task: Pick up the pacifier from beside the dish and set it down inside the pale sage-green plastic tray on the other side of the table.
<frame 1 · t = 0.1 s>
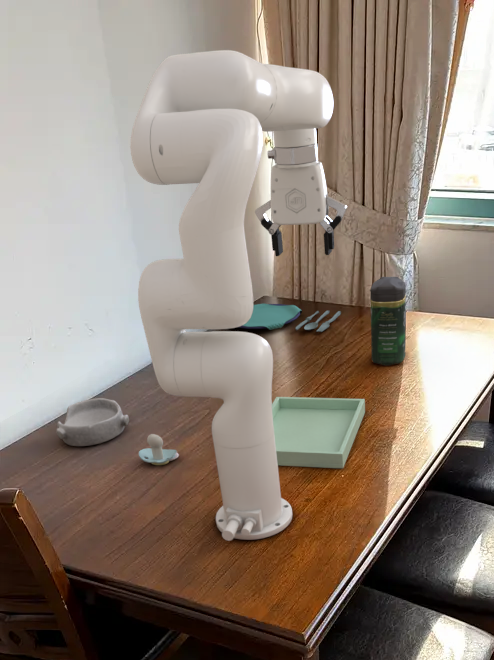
hand: (303, 253, 147), 31 cm above the table, tool pointing down, fingers open, 9 cm apart
coffee jar: (389, 359, 182), on the table
dish: (95, 434, 161), on the table
cutlery set: (281, 323, 210), on the table
pacifier: (161, 461, 148), on the table
tray: (307, 436, 151), on the table
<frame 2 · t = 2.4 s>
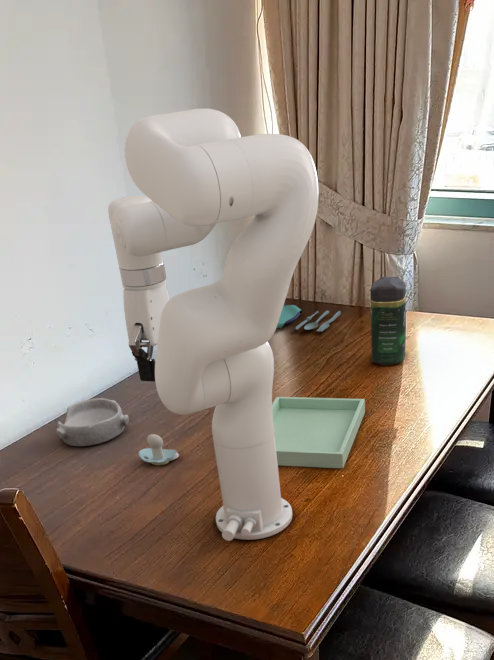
hand: (160, 369, 140), 17 cm above the table, tool pointing down, fingers open, 9 cm apart
nothing on the table moved.
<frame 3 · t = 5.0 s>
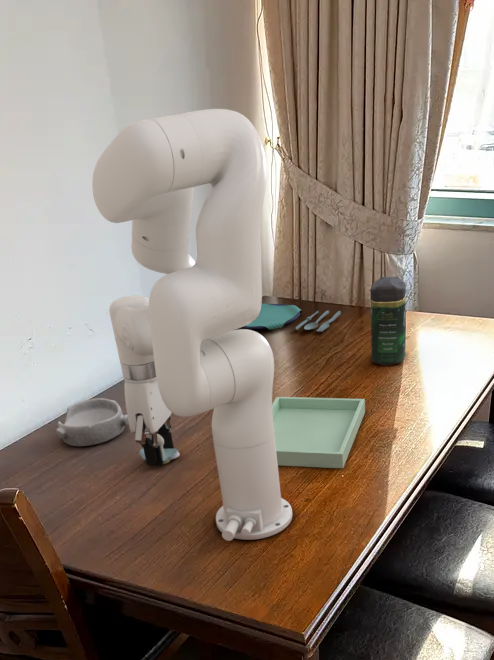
hand: (160, 456, 147), 1 cm above the table, tool pointing down, fingers closed on pacifier, 4 cm apart
pacifier: (162, 460, 148), on the table, touching gripper
everything else where it was.
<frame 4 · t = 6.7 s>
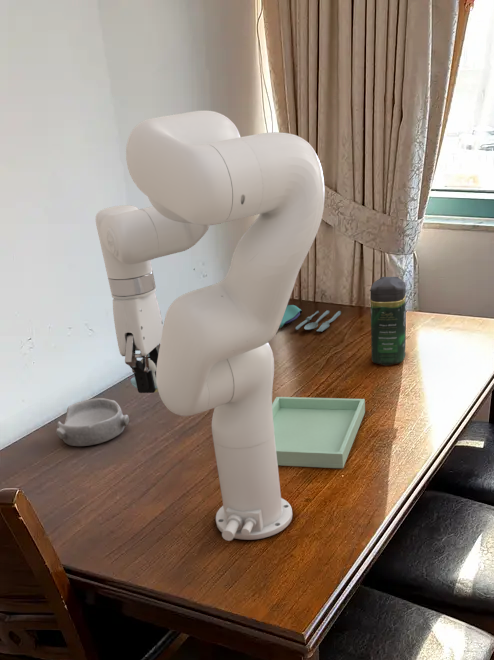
hand: (152, 385, 139), 16 cm above the table, tool pointing down, fingers closed on pacifier, 4 cm apart
pacifier: (155, 389, 140), point 14 cm above the table, touching gripper
everything else where it was.
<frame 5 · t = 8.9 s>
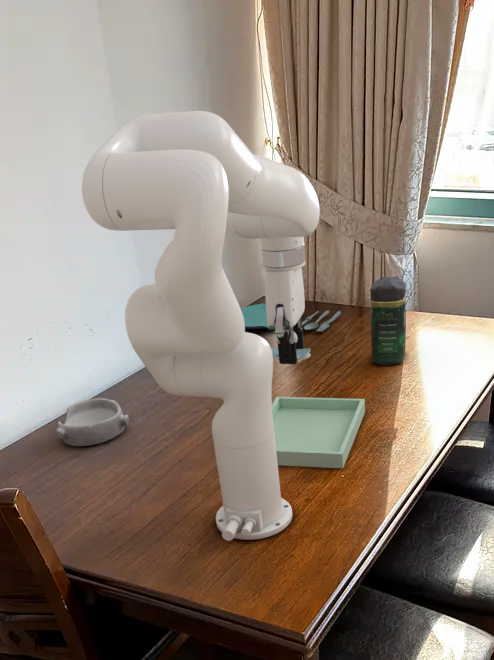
hand: (292, 356, 142), 17 cm above the table, tool pointing down, fingers closed on pacifier, 4 cm apart
pacifier: (292, 360, 143), point 16 cm above the table, touching gripper
everything else where it was.
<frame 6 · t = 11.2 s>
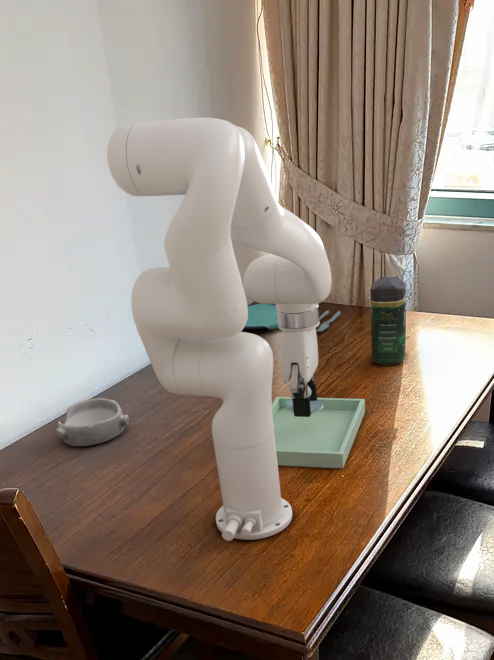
hand: (305, 408, 148), 6 cm above the table, tool pointing down, fingers closed on pacifier, 4 cm apart
pacifier: (306, 412, 149), point 5 cm above the table, touching gripper
everything else where it was.
when the fingers open (2 cm above the table, at t = 12.8 s): pacifier stays where it is, resting on tray.
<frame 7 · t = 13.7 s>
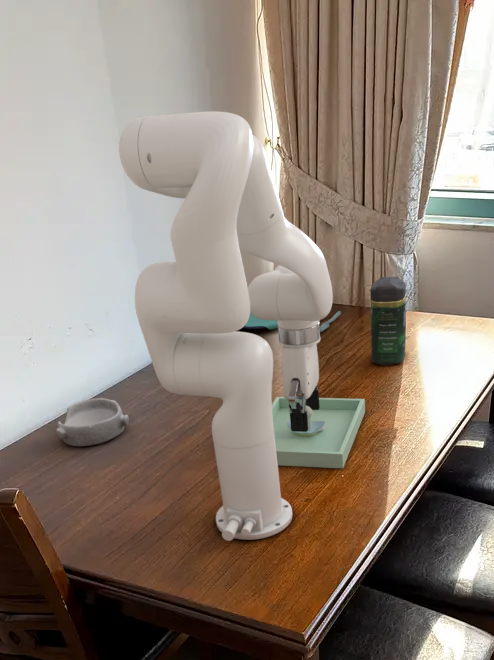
hand: (305, 419, 149), 4 cm above the table, tool pointing down, fingers open, 9 cm apart
pacifier: (308, 432, 151), point 1 cm above the table, touching tray
everything else where it was.
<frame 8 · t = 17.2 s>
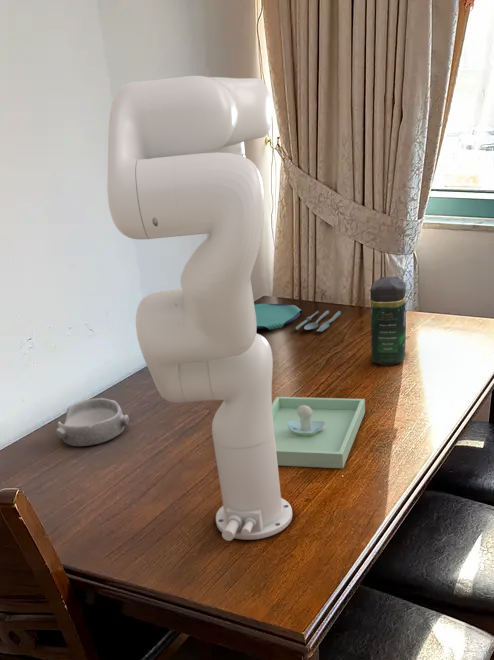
hand: (236, 274, 135), 32 cm above the table, tool pointing down, fingers open, 9 cm apart
nothing on the table moved.
at the end: pacifier inside the target area in the tray (0.6 cm from its centre), point 0.6 cm above the tray's base; the gripper is holding nothing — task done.
